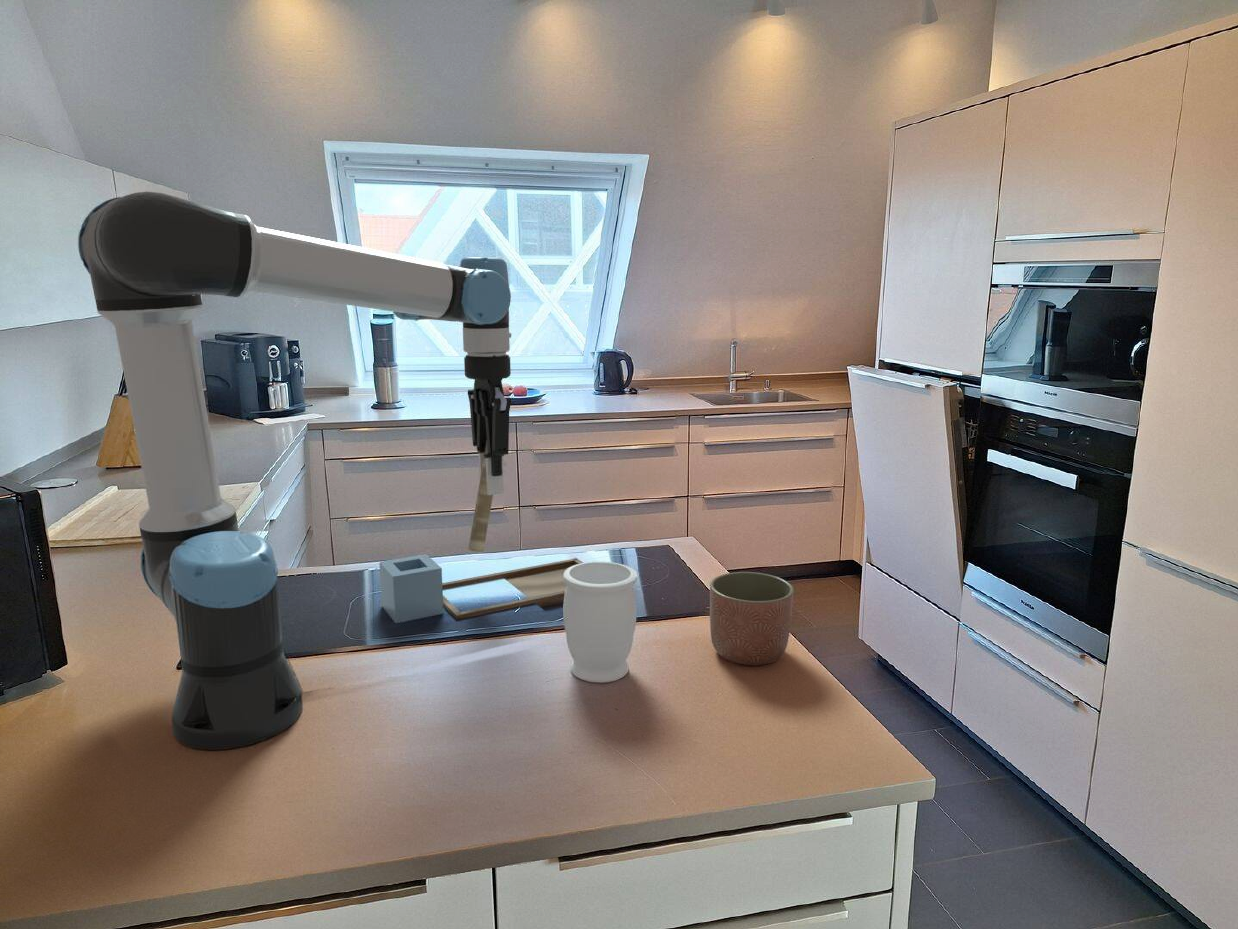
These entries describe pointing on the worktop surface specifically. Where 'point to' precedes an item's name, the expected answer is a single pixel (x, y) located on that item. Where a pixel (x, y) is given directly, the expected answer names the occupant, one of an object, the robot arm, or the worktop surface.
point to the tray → (521, 587)
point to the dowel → (481, 513)
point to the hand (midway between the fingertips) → (491, 491)
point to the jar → (599, 619)
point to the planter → (750, 616)
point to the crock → (411, 588)
